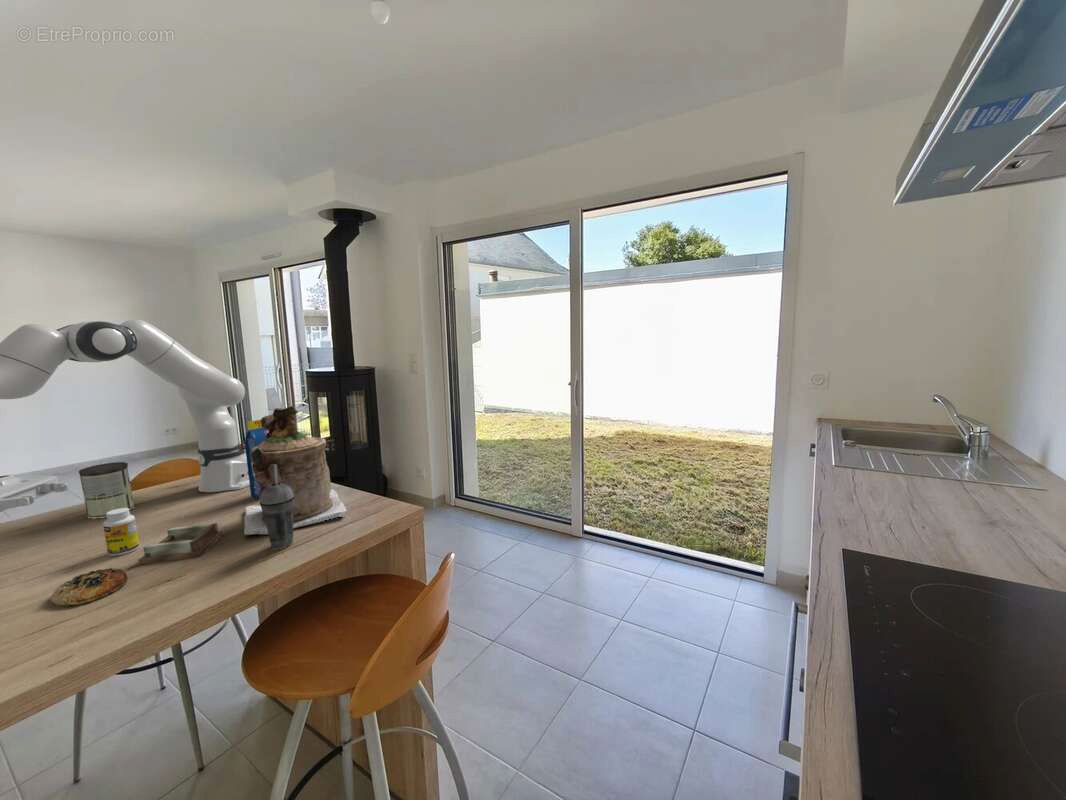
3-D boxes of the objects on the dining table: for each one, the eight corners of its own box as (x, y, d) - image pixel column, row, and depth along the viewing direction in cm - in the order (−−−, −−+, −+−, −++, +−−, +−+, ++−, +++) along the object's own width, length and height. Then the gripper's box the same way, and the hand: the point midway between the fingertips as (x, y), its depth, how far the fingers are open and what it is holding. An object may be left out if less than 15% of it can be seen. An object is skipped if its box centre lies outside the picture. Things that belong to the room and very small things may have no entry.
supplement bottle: (101, 557, 101) (94, 516, 100) (122, 546, 106) (116, 506, 105) (126, 556, 101) (119, 515, 100) (146, 545, 107) (139, 505, 105)
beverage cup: (260, 554, 100) (250, 471, 98) (270, 540, 107) (261, 463, 105) (295, 549, 102) (286, 468, 100) (302, 536, 109) (294, 460, 107)
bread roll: (139, 571, 94) (133, 552, 93) (112, 607, 84) (105, 585, 83) (74, 584, 90) (66, 564, 89) (37, 623, 80) (28, 600, 79)
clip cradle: (139, 563, 97) (136, 549, 97) (170, 540, 109) (168, 527, 109) (199, 556, 100) (197, 542, 100) (223, 534, 112) (222, 521, 111)
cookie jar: (335, 493, 141) (327, 396, 136) (349, 518, 120) (339, 405, 116) (245, 510, 128) (232, 404, 123) (243, 542, 107) (227, 416, 103)
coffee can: (80, 516, 127) (72, 469, 125) (125, 503, 136) (118, 460, 134) (96, 521, 122) (87, 473, 120) (141, 508, 131) (134, 464, 129)
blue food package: (298, 488, 147) (290, 416, 143) (262, 500, 136) (253, 422, 133) (286, 485, 149) (279, 414, 146) (250, 497, 139) (241, 421, 135)
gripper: (-84, 502, 85) (3, 495, 88) (13, 472, 105) (81, 468, 108) (-78, 532, 86) (8, 524, 89) (17, 497, 106) (85, 492, 109)
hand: (49, 493), depth 99 cm, fingers open, 8 cm apart
